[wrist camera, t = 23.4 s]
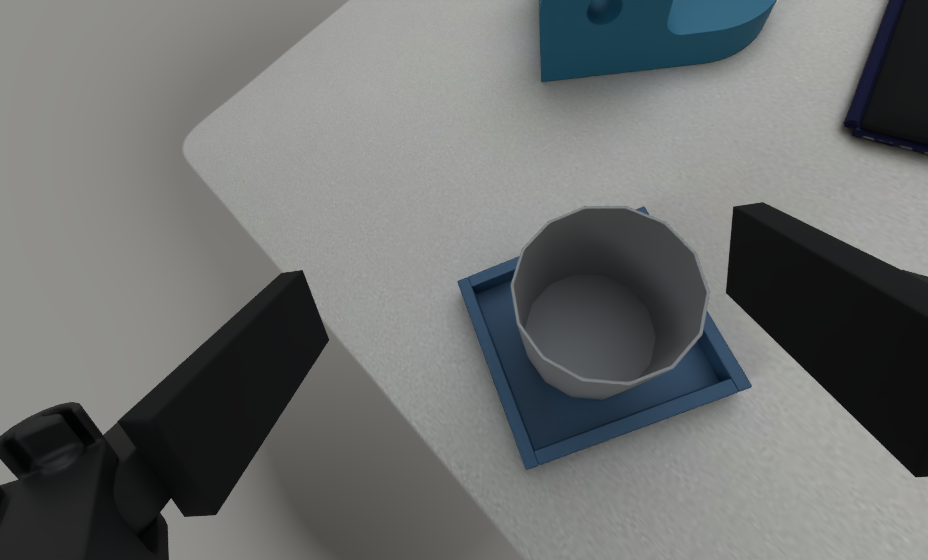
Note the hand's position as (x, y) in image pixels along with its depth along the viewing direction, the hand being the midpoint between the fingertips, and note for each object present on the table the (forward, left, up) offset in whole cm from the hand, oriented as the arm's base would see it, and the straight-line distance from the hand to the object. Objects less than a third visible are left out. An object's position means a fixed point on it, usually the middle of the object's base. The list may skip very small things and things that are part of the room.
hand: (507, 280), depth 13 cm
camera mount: (+20, +23, -17) cm, 35 cm away
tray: (+4, 0, -17) cm, 17 cm away
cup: (+4, 0, -16) cm, 17 cm away
